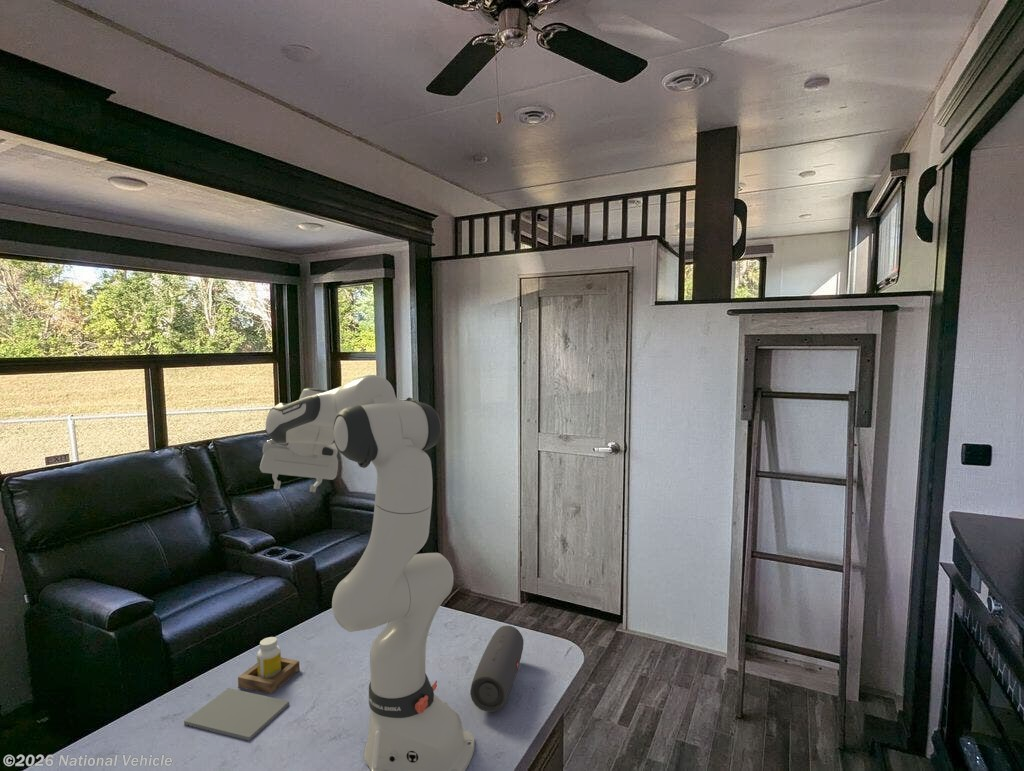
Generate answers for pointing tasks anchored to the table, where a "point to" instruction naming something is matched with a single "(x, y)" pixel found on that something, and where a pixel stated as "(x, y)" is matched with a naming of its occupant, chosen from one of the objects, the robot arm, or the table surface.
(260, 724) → the slate mat
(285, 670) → the walnut collar
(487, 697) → the bluetooth speaker
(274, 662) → the supplement bottle
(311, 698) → the table surface
